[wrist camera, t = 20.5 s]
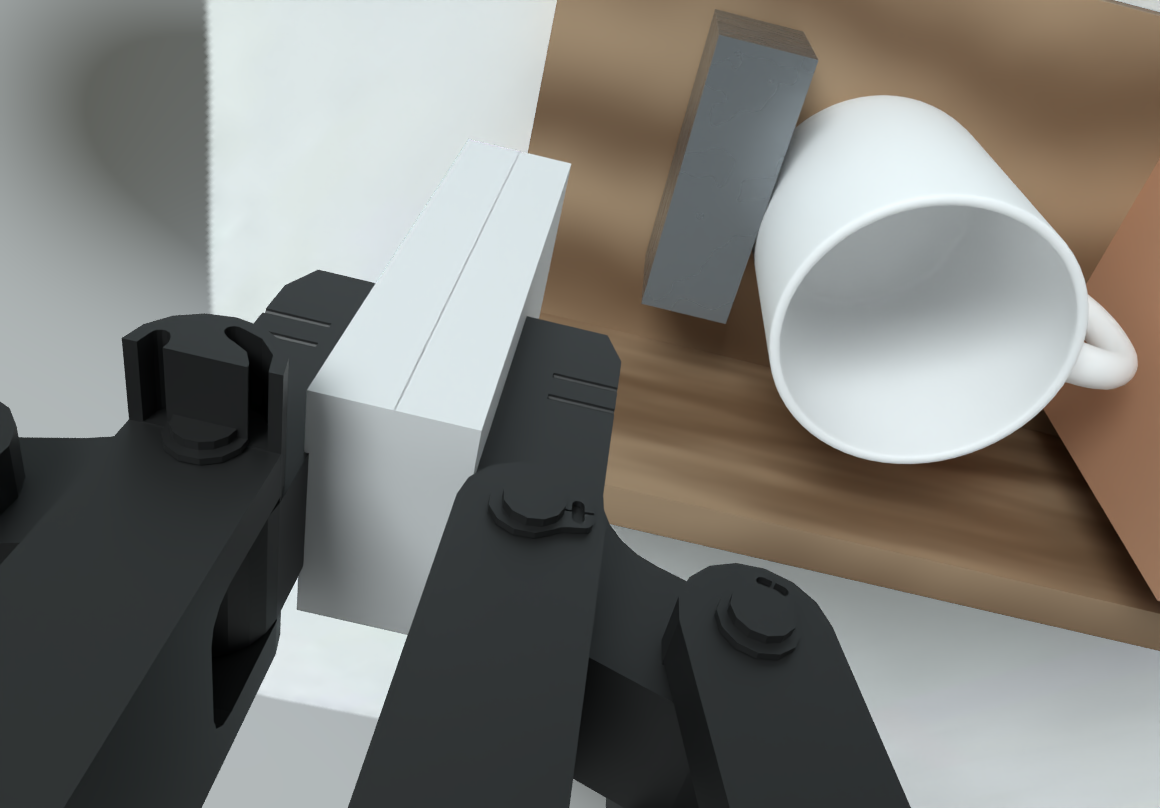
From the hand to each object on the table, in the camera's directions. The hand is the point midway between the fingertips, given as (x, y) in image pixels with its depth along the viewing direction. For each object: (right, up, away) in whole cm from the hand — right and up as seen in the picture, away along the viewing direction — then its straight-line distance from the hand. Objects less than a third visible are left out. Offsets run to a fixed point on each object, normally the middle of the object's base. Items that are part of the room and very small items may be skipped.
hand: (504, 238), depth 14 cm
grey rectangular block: (+6, +6, +19) cm, 21 cm away
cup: (+13, +4, +20) cm, 24 cm away
